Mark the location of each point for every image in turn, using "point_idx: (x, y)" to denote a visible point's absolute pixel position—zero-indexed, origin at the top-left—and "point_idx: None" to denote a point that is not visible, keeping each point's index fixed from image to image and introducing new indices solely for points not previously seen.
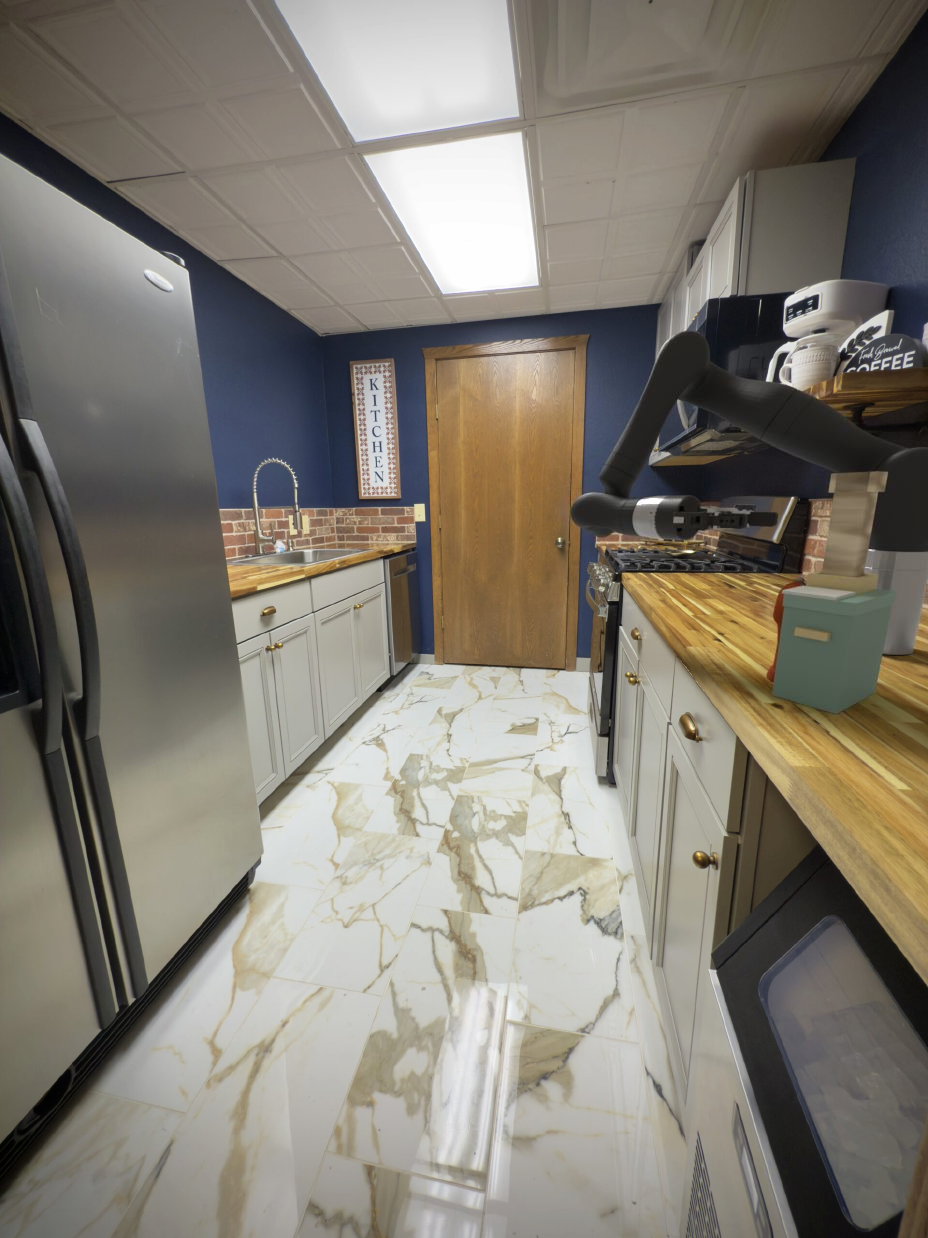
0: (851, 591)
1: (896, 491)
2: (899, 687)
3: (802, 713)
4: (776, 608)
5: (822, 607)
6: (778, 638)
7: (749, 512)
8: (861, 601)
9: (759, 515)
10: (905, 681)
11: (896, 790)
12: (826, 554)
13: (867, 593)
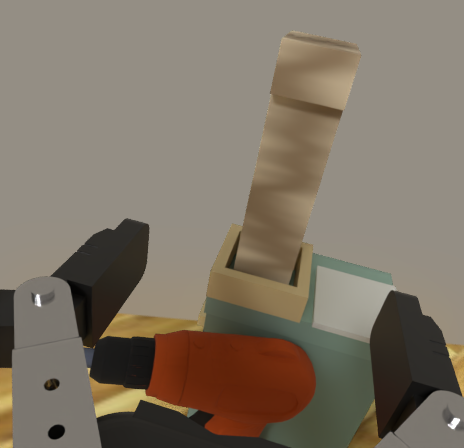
0: (317, 269)
1: None
2: (163, 331)
3: (366, 425)
4: (311, 398)
5: None
6: (256, 436)
7: (69, 298)
8: (368, 268)
9: (115, 274)
10: (128, 324)
11: (460, 354)
12: (300, 243)
13: None
